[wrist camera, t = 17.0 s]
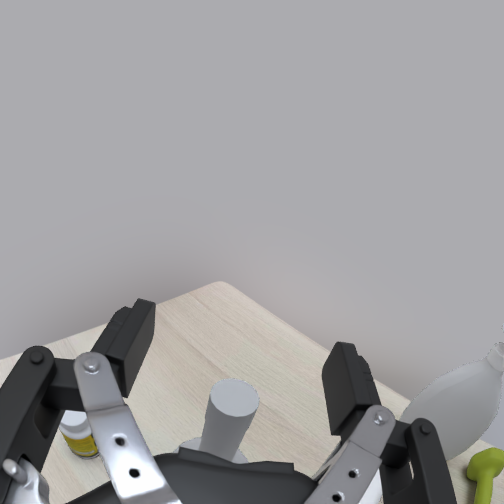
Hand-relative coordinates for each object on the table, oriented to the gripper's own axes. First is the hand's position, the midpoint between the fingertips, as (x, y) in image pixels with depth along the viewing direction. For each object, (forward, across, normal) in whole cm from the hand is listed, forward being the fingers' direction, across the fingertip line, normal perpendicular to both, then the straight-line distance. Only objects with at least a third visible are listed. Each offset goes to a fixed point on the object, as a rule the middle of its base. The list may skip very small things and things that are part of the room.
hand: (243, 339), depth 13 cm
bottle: (-2, 0, +27) cm, 27 cm away
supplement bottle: (+4, +15, +29) cm, 33 cm away
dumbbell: (-4, -43, +29) cm, 52 cm away
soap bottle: (+11, -35, +29) cm, 47 cm away
